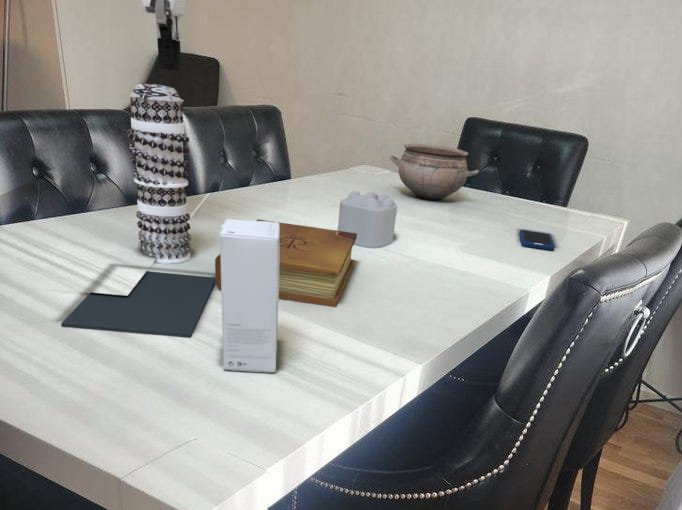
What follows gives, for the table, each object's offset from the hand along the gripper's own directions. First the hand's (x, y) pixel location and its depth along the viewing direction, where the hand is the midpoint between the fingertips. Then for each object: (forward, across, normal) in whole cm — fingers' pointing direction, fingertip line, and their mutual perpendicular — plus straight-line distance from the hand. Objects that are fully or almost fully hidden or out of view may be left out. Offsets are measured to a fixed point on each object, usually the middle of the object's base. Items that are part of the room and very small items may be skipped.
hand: (170, 69), depth 104 cm
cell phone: (+28, -29, +76) cm, 85 cm away
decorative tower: (+27, +10, 0) cm, 29 cm away
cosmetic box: (+27, +49, +18) cm, 59 cm away
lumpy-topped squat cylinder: (+27, -16, +36) cm, 48 cm away
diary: (+27, +15, +21) cm, 37 cm away
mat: (+27, +32, +2) cm, 42 cm away
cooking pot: (+28, -69, +56) cm, 93 cm away
